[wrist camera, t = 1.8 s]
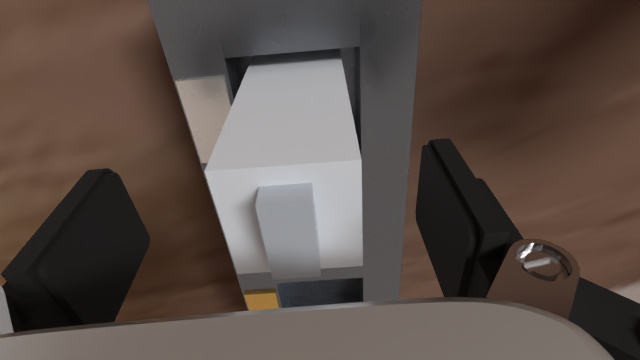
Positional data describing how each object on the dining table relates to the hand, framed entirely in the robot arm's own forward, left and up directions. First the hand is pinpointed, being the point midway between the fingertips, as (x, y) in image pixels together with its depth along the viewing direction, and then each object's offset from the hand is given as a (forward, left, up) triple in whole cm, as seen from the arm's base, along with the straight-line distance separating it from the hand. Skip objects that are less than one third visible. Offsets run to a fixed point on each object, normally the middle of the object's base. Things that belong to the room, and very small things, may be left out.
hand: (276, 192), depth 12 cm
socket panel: (-1, +7, -9) cm, 11 cm away
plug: (-1, 0, -9) cm, 9 cm away
